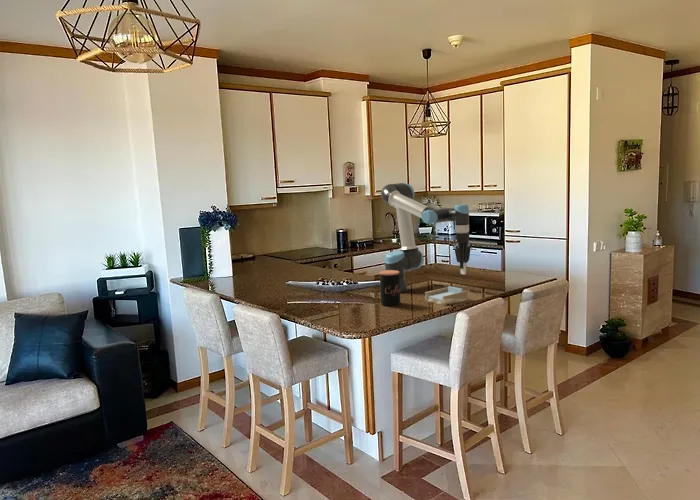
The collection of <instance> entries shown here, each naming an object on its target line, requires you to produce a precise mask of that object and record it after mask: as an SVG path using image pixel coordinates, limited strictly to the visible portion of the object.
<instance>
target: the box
mask: <svg viewBox="0 0 700 500" xmlns="http://www.w3.org/2000/svg"><path fill="white" fill-rule="evenodd" d="M448 287H449V286H447V287H443V288H442V287H441V288H439V289H433V290H429V291H425V292H424V299H425V300H424V302H427V303H431V304H435V303H436V304H437V305H439V304H440V305H439V306H443V305H445V306H447V304H449V305H452V304H457V303H461V302H464V301H468V291H467V290H463V292H458V293H454V294H450V295H446V296H443V301H439V300H435V299H430V298H428V296H430V295H434V294H439V293H443V292H448Z"/></svg>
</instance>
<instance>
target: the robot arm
mask: <svg viewBox="0 0 700 500" xmlns="http://www.w3.org/2000/svg"><path fill="white" fill-rule="evenodd" d="M380 197H381V200H382V201H383V202H384V203H385V204H387V205H389V206H390V207H391V206H392V207H393V208H395V209H396V210H395V211H396V216H397V217H396V218H397V224H398V231H399V238H400V245H401V247H400V248H399V250H395V251H390V252H387V253H386V254H385V256H384V269H385V270H396V271H399V276H400V294H401V293H406V292H408V291H409V287H408V283H407V281H406V277H405V273H406V272H410V271H415V270H417V269H420V268H421V267H422V265H423V264H424V254H423V253H422V252H421V250H419V247H418V246H417V245H416V242H415V234H414V226H413V220H412V219H413V218H412V215H413V216H416V217H417V218H420V219H421V220H422V221H423V223H425V224H426V225H434V224H438V223H446V222H454V226H455V229H454V230H455V231H454V232H455V239H456V243H455V245H453V246H452V247H453V250H454V253H455V258H456V262H457V263H458V264H459V269H460V275H466V274H467V263H469V261H470V258H471V257H470V256H471V249H472V245H473V244H472V243H470V241H469V240H470V233H469V232H470V210H469V208H470V207H469V205H468V204H455V205H454V207H453V208H452V207H441V208H436V209H434V208H432V207H430V206H427V205H425V204H423V203H421V202H419V201H417V200H415V199H414V198H415V191H414V188H413V186H412V185H410V184H409V183H405V182H400V183H390V184H386V185H384V186H383V187H382V189H381V191H380ZM385 270H384V271H385Z"/></svg>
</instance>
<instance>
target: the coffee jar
mask: <svg viewBox="0 0 700 500" xmlns="http://www.w3.org/2000/svg"><path fill="white" fill-rule="evenodd" d="M379 289H380V290H379V292H380V295H379V296H380V303H381V305H382V306H384V307H397V306H399V305H400V303H401V293H400V276H399V271H396V270H381V271H379Z"/></svg>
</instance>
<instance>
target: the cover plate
mask: <svg viewBox="0 0 700 500" xmlns="http://www.w3.org/2000/svg"><path fill="white" fill-rule="evenodd" d="M447 287H448V292H443V293H439V294H434V295H430V296H428V298H430V299H435V300H439V301H443V296H446V295H450V294H454V293H458V292H463V291H464V288H461V287H455V286H450V285H449V286H447Z"/></svg>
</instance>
